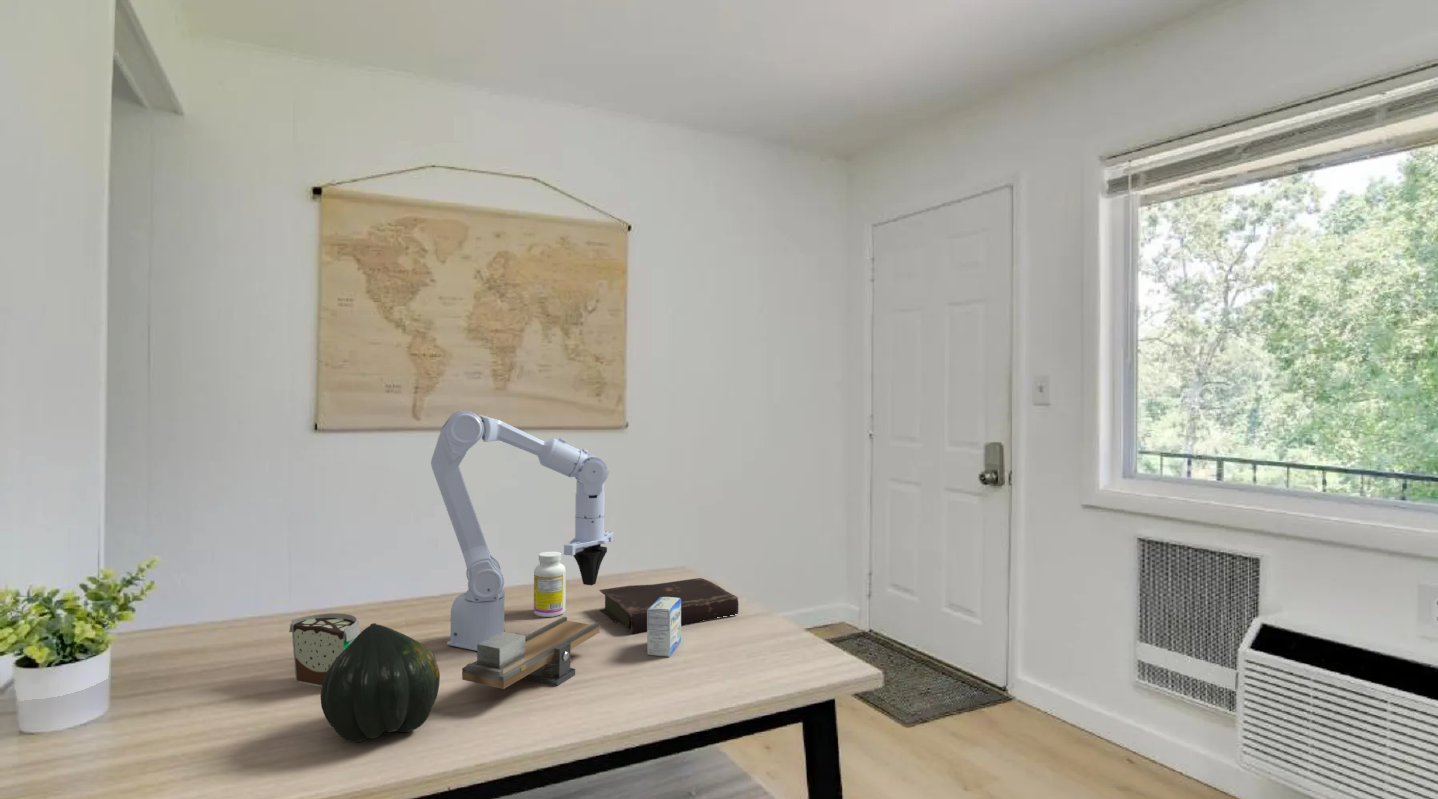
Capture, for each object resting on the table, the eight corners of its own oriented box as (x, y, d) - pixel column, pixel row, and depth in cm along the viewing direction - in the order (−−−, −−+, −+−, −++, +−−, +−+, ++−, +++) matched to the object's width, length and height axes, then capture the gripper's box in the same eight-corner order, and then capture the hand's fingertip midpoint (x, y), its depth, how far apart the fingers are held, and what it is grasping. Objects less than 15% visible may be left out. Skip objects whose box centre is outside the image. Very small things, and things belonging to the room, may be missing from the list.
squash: (422, 717, 91) (434, 607, 100) (295, 732, 87) (319, 617, 97) (440, 748, 101) (449, 646, 111) (327, 762, 98) (346, 656, 108)
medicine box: (670, 657, 126) (670, 610, 126) (646, 655, 127) (646, 608, 127) (681, 642, 134) (681, 597, 134) (658, 640, 135) (659, 595, 135)
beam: (461, 679, 108) (461, 664, 108) (563, 626, 132) (563, 613, 132) (504, 689, 104) (504, 673, 104) (600, 632, 128) (600, 619, 128)
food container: (377, 677, 116) (378, 617, 116) (347, 692, 110) (347, 628, 110) (321, 666, 120) (321, 608, 120) (288, 680, 114) (289, 619, 114)
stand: (498, 673, 118) (498, 640, 118) (517, 663, 123) (518, 631, 123) (557, 686, 113) (557, 651, 113) (575, 674, 118) (575, 641, 118)
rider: (477, 669, 109) (477, 644, 108) (503, 656, 114) (503, 631, 114) (499, 674, 107) (499, 648, 107) (525, 660, 112) (525, 635, 112)
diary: (739, 619, 150) (739, 596, 150) (631, 639, 138) (631, 613, 137) (697, 595, 166) (698, 574, 166) (597, 611, 154) (598, 588, 154)
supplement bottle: (542, 607, 154) (542, 549, 154) (570, 609, 153) (570, 550, 153) (528, 616, 148) (528, 556, 148) (557, 619, 146) (557, 558, 146)
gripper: (586, 523, 131) (585, 596, 131) (626, 512, 144) (625, 577, 144) (555, 520, 134) (554, 591, 134) (597, 509, 147) (596, 573, 147)
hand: (589, 584), depth 139 cm, fingers closed
